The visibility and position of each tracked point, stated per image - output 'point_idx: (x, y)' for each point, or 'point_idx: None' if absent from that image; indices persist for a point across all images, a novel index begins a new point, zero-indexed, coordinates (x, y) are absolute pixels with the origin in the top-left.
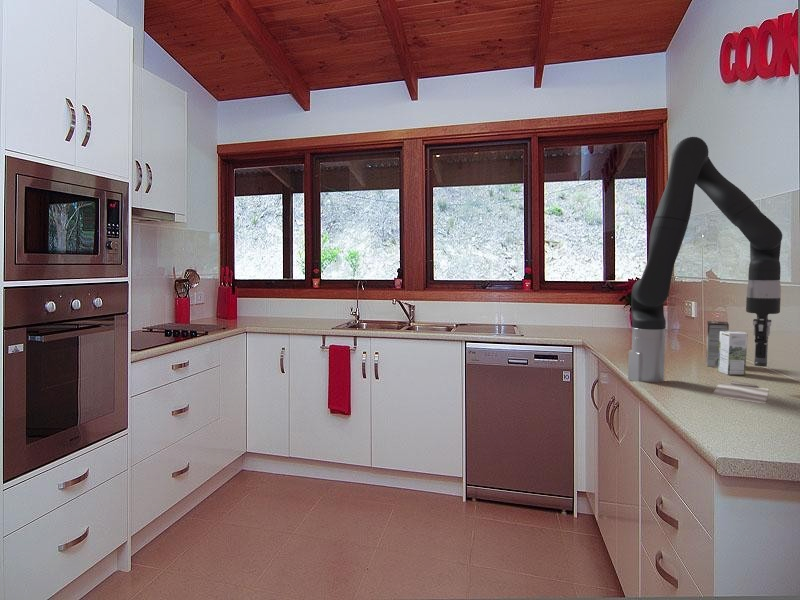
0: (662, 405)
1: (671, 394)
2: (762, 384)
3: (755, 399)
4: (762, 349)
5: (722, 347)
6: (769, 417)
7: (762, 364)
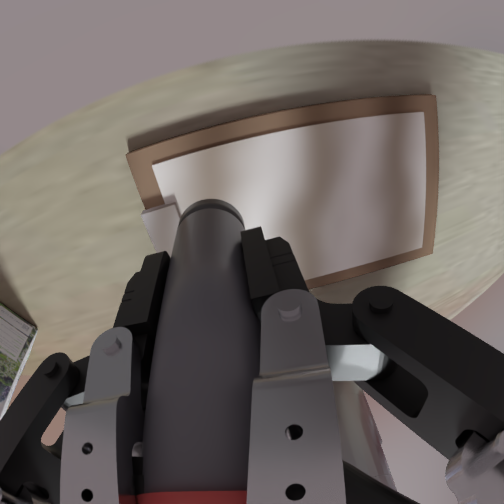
0: (499, 273)
1: None
2: (46, 228)
3: (393, 145)
4: (301, 278)
5: (7, 405)
6: (492, 96)
7: (238, 218)
